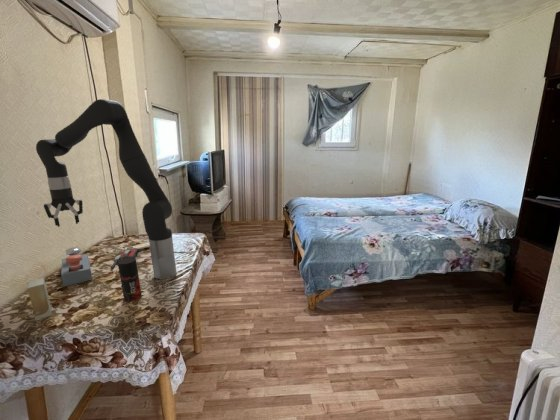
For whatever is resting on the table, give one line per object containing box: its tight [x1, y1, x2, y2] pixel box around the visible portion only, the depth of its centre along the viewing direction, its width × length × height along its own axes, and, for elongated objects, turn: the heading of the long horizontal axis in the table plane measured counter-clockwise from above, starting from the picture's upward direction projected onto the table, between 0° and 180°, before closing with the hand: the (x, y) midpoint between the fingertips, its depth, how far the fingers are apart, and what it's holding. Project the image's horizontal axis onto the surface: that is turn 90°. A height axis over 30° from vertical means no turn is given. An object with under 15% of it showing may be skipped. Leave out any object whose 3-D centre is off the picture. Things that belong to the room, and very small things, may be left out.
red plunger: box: [65, 254, 82, 271], centre depth 124 cm, size 6×6×6 cm
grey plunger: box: [65, 246, 82, 257], centre depth 133 cm, size 6×6×6 cm
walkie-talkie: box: [110, 247, 139, 269], centre depth 144 cm, size 9×4×20 cm
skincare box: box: [27, 277, 52, 321], centre depth 100 cm, size 6×4×12 cm
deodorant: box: [117, 257, 142, 303], centre depth 109 cm, size 6×6×15 cm
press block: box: [60, 253, 93, 287], centre depth 130 cm, size 20×10×5 cm, turn 35°
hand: (68, 224), depth 130 cm, fingers open, 6 cm apart
